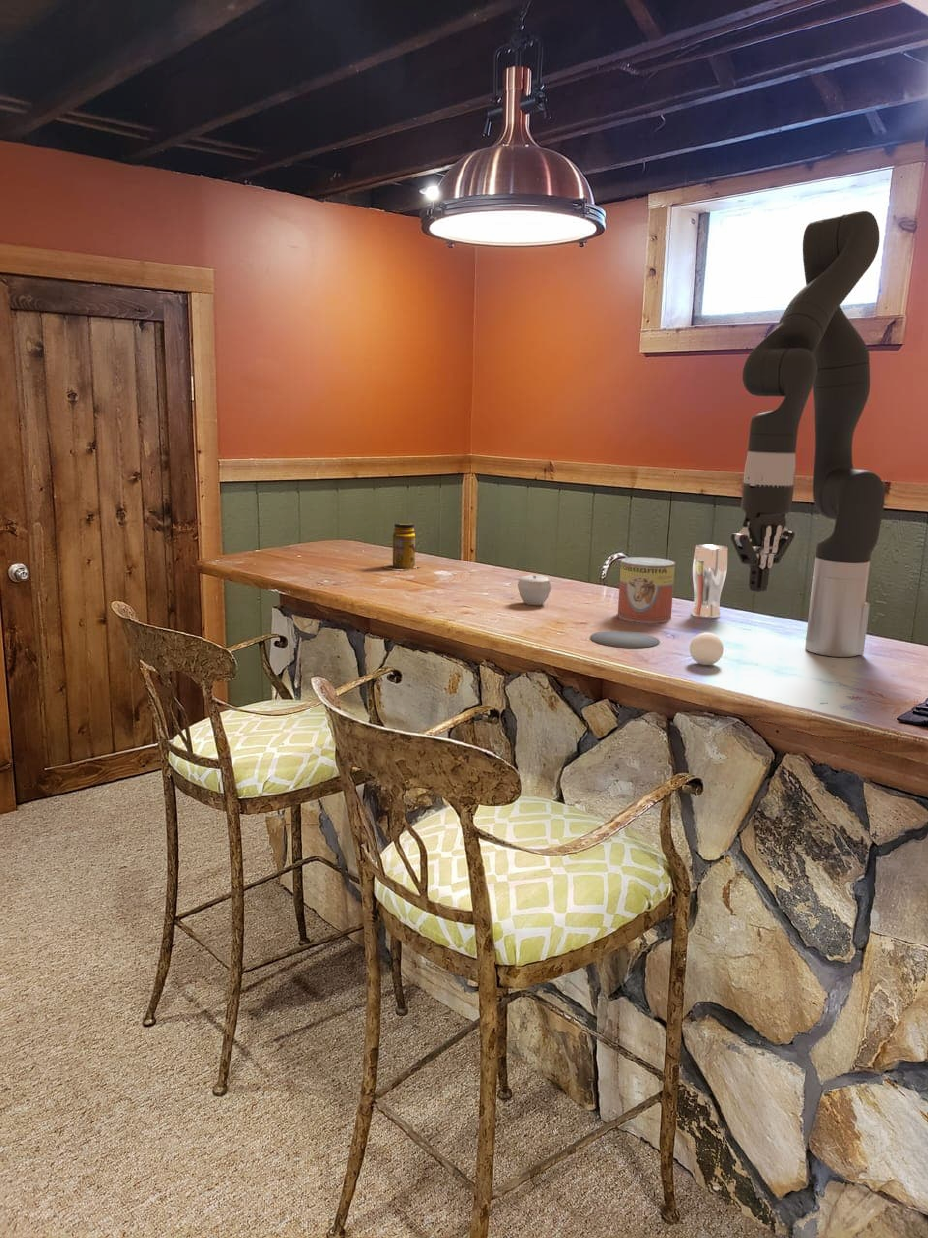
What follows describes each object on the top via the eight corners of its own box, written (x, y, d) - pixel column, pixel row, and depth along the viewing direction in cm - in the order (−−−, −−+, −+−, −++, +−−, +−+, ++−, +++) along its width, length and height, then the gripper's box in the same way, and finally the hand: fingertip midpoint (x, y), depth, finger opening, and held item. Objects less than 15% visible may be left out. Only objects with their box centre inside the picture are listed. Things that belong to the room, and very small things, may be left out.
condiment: (421, 568, 249) (422, 524, 246) (397, 571, 243) (398, 526, 240) (404, 564, 254) (404, 521, 251) (380, 567, 248) (380, 523, 245)
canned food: (612, 619, 191) (616, 562, 188) (622, 609, 201) (625, 555, 198) (667, 625, 187) (671, 567, 184) (674, 614, 197) (678, 559, 195)
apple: (510, 601, 207) (511, 572, 205) (541, 599, 209) (543, 571, 208) (524, 608, 199) (526, 579, 198) (557, 606, 202) (558, 577, 201)
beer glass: (697, 610, 202) (703, 543, 198) (727, 615, 197) (733, 546, 194) (683, 615, 196) (689, 546, 193) (713, 620, 192) (720, 549, 189)
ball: (715, 660, 160) (718, 629, 159) (726, 669, 155) (729, 637, 153) (684, 660, 160) (687, 629, 158) (694, 669, 154) (696, 636, 153)
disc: (649, 632, 180) (649, 631, 180) (667, 648, 167) (667, 647, 167) (584, 631, 179) (584, 630, 179) (597, 648, 167) (597, 646, 167)
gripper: (776, 479, 149) (765, 583, 153) (721, 480, 142) (711, 590, 146) (815, 482, 143) (803, 591, 147) (760, 484, 136) (749, 598, 140)
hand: (757, 590), depth 146 cm, fingers closed
